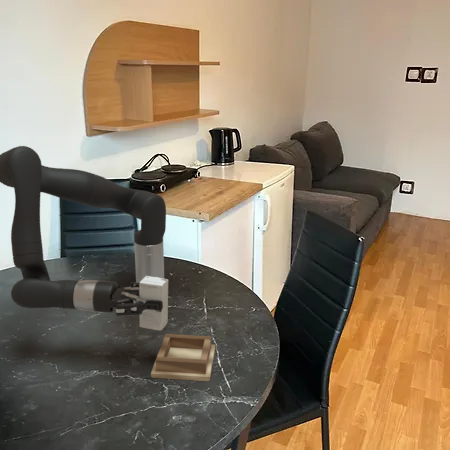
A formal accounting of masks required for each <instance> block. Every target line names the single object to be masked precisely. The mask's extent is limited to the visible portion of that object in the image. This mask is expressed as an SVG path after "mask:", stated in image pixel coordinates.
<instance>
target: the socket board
mask: <svg viewBox="0 0 450 450" xmlns="http://www.w3.org/2000/svg"><path fill="white" fill-rule="evenodd" d="M162 340H163V341H162V342H161V345H160V348H159V351H158V353H157V356H156V358H155V361H154V364H153V367H152V369H151V373H150V378H151V379H152V378H153V379H164V380H165V379H166V380H167V379H168V380H182V381H183V380H184V381H196V382H210V380H211V375H212V369H213V362H214V357H215V353H216V344H212V336H209V335H206V336H205V335H190V334H176V333H175V334H173V333H165V335H164V336H163V339H162Z"/></svg>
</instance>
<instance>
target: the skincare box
mask: <svg viewBox="0 0 450 450" xmlns="http://www.w3.org/2000/svg"><path fill="white" fill-rule="evenodd" d="M139 298H140V299H144V300H146V302H147V300H158V301H162V302H163V309H162V310H146V311H142V314H140V315H139V327H140V328H144V329H149V330H154V331H162V330H163V329H164V328H165V327H166V325H167V324H168V323H169V322H168V315H169V314H168V312H169V311H168V310H169V309H168V308H169V279H167V278H164V279H163V278H159V277H151V276H146V277H144V278H143V279H142V280H141V281H140V283H139Z"/></svg>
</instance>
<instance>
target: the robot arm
mask: <svg viewBox="0 0 450 450" xmlns="http://www.w3.org/2000/svg"><path fill="white" fill-rule="evenodd" d="M0 183H1V185H4V186H5V187H8V188H9V187H10V188H13V190H14V197H15V198H14V199H15V201H14V214H13V219H12V224H11V230H10V240H11V241H10V242H11V252H12V254H11V255H12V260H13V265H14V267H16V268H17V269H19V270H20V272H21V275H22V277H23V278H22V279H21V280H18V281H16V282H15V284H13V286H12V288H11V290H10V292H11V293H10V297H11V299H12V301H13V302H14V303H15V304H16V305H17V306H19V307H22V308H26V309H45V308H46V309H47V308H48V309H49V308H61V309H67V310H68V309H69V310H80V311H84V312H86V311H87V312H94V313H95V312H97V313H114V312H115V315H116V316H118V317H119V316H134V315H135V316H137V315H139V316H140V314H142V311H146V310H162V309H163V302H162V301H158V300H147V302H146V300H144V299H140V298H139V283H140V281H141V280H142V279H143V278H144V277H146V276H151V277H159V278H163V279H165V262H164V261H165V257H164V252H165V251H164V236H165V234H166V224H167V206H166V202H165V199H164V198H163V197H162V196H161V195H159V194H156V193H154V192H151V191H147V190H141V189H135V188H130V187H125V186H122V185H119V184H117V183H115V182H114V181H112V180H110V179H108V178H105V177H104V176H101V175H98V174H95V173H92V172H88V171H85V170H81V169H74V168H73V169H72V168H62V167H61V168H59V167H50V166H45V165H43V164H42V160H41V158H40V156H39V154H38V153H37V152H36V150H34V149H33V148H32V147H29V146H26V145H19V146H16V147H13V148H11V149H8V150H7V151H4V152H2V153H1V154H0ZM41 193H42V194H43V193H44V194H46V195H50V196H53V197H56V198H59V199H63V200H67V201H70V202H74V203H77V204H81V205H82V206H83V205H84V206H88V207H92V208H99V209H113V210H117V211H120V212H122V213H125V214H127V215H130V216H131V217H133V218H135V219H138V220H140V229H139V230H137V231H136V232H134V236H133V240H134V241H133V242H134V262H135V281H131V282H130V285H129V286H125V287H124V286H123V287H120V286H119V284H118V282H116V281H109V280H108V281H107V280H96V279H95V280H94V279H93V280H92V279H85V280H77V279H76V280H75V279H61V280H60V279H59V280H51V277H50V274H49V272H48V268H47V265H46V263H45V260H44V248H43V243H42V242H43V241H42V232H41V231H42V229H41Z"/></svg>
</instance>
